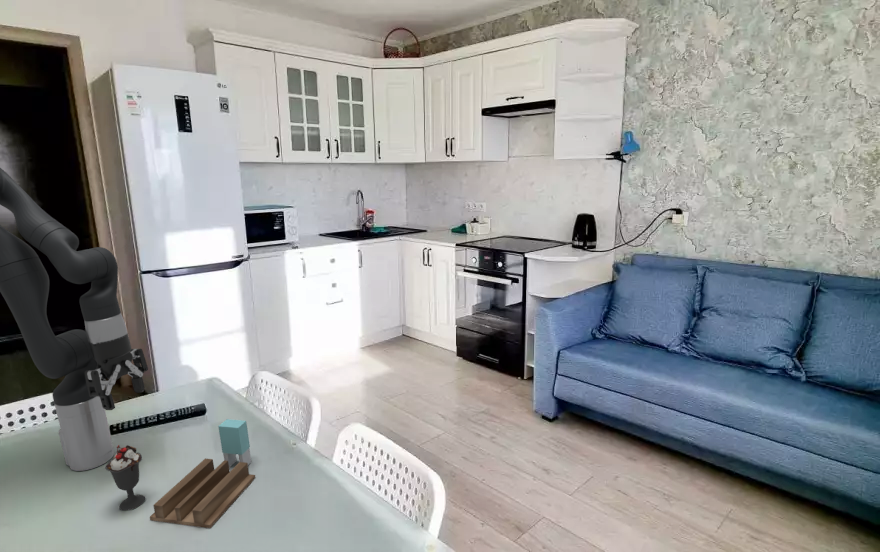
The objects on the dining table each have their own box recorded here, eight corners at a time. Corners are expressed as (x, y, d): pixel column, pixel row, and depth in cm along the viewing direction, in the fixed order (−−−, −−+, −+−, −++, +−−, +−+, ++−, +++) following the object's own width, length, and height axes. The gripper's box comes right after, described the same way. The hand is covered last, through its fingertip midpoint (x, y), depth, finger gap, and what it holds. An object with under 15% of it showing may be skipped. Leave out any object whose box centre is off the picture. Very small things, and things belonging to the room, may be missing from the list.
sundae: (124, 517, 102) (110, 453, 98) (108, 506, 105) (94, 444, 102) (156, 498, 107) (144, 437, 104) (140, 489, 111) (127, 429, 107)
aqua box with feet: (224, 467, 117) (218, 426, 115) (232, 459, 120) (226, 419, 118) (244, 469, 116) (238, 427, 114) (252, 461, 119) (246, 420, 117)
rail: (150, 520, 101) (146, 504, 100) (201, 472, 116) (199, 457, 115) (210, 528, 98) (207, 512, 97) (255, 477, 113) (253, 463, 112)
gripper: (120, 325, 120) (136, 386, 123) (65, 347, 106) (85, 415, 110) (146, 324, 118) (161, 386, 122) (94, 346, 104) (113, 416, 108)
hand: (125, 400), depth 116 cm, fingers open, 8 cm apart
